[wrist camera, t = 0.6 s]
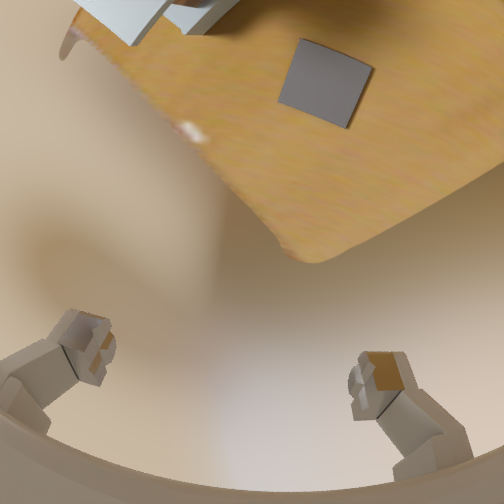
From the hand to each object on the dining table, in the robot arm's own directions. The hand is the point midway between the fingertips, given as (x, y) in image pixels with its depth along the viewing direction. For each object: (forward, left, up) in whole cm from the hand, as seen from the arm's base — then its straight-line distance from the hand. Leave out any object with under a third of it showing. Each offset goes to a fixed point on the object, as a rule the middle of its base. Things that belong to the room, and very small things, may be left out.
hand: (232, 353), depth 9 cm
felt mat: (-2, +2, -45) cm, 45 cm away
